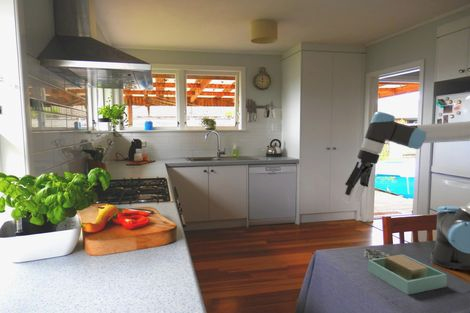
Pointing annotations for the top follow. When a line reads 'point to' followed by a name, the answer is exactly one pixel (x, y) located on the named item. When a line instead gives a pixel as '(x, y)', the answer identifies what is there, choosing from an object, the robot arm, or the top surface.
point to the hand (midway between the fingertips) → (350, 201)
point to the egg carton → (374, 253)
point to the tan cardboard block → (405, 267)
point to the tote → (430, 282)
